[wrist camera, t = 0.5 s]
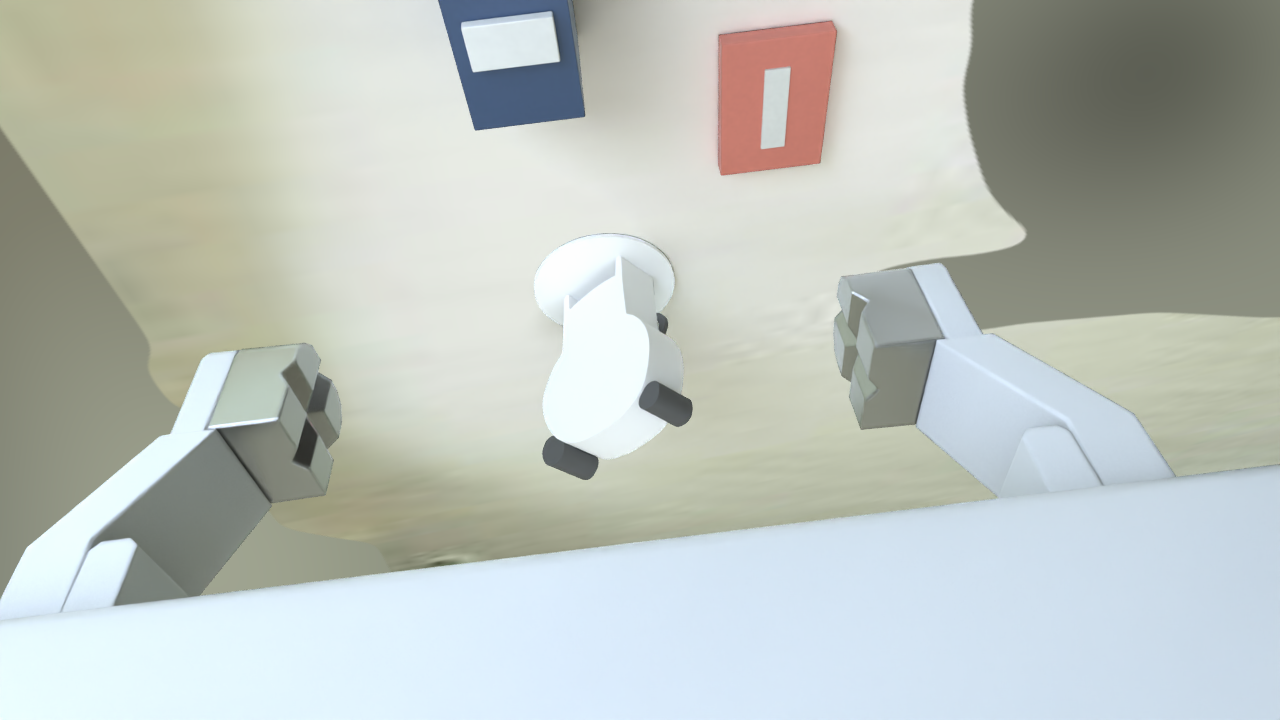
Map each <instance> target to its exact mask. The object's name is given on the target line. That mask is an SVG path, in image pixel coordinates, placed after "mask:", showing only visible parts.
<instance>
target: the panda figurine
mask: <svg viewBox="0 0 1280 720" xmlns="http://www.w3.org/2000/svg"><path fill="white" fill-rule="evenodd" d="M674 285H675V279H674V272H673V269H672V266H671V264H670V262H669V260H668V259H667V257H666V256H665V255H664V254H663V253H662V252H661V251H660V250H659V249H658V248H656V247H655V246H653V245H652V244H650V243H648V242H646V241H644V240H641V239H639V238H636V237H632V236H627V235H621V234H596V235H590V236H586V237H582V238H579V239H575V240H573V241H570V242H568V243H566V244H564V245H562V246H561V247H559V248H557V249H556V250H555V251H553V252H552V253H551V254H550V255H549V256H548V257H546V259H545V260H544V261H543V262H542V264H541V265H540V267H539V269H538V270H537V273H536V276H535V280H534V293H535V298H536V301H537V303H538V305H539V307H540V308H541V310H542V311H543V312H544V313H545V315H547V316H548V317H549V318H550V319H551V320H553V321H554V322H556V323H557V324H559V325H561V326H563V353H562V355H561V356H560V358H559V360H558V361H557V363H556V365H555V367H554V369H553V371H552V373H551V375H550V377H549V380H548V383H547V386H546V389H545V393H544V397H543V413H544V418H545V421H546V424H547V426H548V428H549V430H550V431H551V433H552V434H553V435H554V436H551V437H550V438H549V439H548V440H547V441H546V443H545V445H544V448H543V453H542V454H543V459H544V462H545V463H546V464H547V465H549V466H551V467H554V468H556V469H559V470H561V471H563V472H566V473H568V474H571V475H573V476H576V477H578V478H580V479H583V480H588V479H590V478H591V477H592V476H593V475H594V474H595V472H596V470H597V467H598V458H597V457H599V458H602V459H614V458H617V457H620V456H623V455H626V454H628V453H630V452H632V451H634V450H636V449H637V448H639V447H641V446H642V445H644V444H645V443H646V442H648V441H649V440H651V439H652V438H653V437H654V436H656V435H657V434H658V433H659V432H660V431H661V430H662V429H663V428H664V427H665V426H666V424H667V423H670V424H672V425H674V426H676V427H680V426H682V425H684V424H685V423H687V422H688V421H689V419H690V418H691V415H692V409H693V408H692V402H691V400H690V399H688V398H686V397H684V396H682V395H681V392H682V385H683V374H684V367H683V358H682V354H681V351H680V349H679V347H678V345H677V344H676V343H675V341H674V340H673V339H671V338H670V337H668V336H667V335H665V334H666V331H667V328H668V321H667V318H666V317H665V316H663V315H662V314H660V313H659V312H660V311H662V309H663V308H664V307H665V306H666V305H667V303H668V302H669V300H670V298H671V296H672V294H673V290H674ZM657 321H658V322H657ZM658 323H659V328H658Z"/></svg>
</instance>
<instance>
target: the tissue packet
mask: <svg viewBox="0 0 1280 720" xmlns="http://www.w3.org/2000/svg"><path fill="white" fill-rule="evenodd" d="M836 35H837V30H836V28H835V26H834V24H833V22H832V21H829V22H821V23H813V24H804V25H796V26H788V27H780V28H772V29H764V30H756V31H748V32H740V33H732V34H724V35H719V107H718V166H719V170H720V174H721V175H730V174H738V173H746V172H754V171H762V170H770V169H778V168H786V167H794V166H802V165H810V164H818V163H820V160H821V152H822V145H823V137H824V129H825V121H826V113H827V105H828V97H829V90H830V82H831V74H832V66H833V58H834V50H835V42H836Z"/></svg>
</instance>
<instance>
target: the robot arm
mask: <svg viewBox="0 0 1280 720" xmlns="http://www.w3.org/2000/svg"><path fill="white" fill-rule="evenodd" d="M837 298H838V300H839V303H840V306H841V308H842V311H841V312H840V313H839V314H838V315H837V316H836V317H835V319H834V332H833V336H834V350H835V355H836V359H837V364H838V367H839V370H840V373H841V376H843V377H844V378H846V379H847V380H848V381H850V382H851V387H850V394H849V398H850V401H851V404H852V406H853V409H854V412H855V415H856V417H857V420H858V423H859V426H860V428H861V430H863V429H873V428H883V427H894V426H904V425H914V424H916V428H918V429H919V430H920V431H921V432H922V433H923V434H925V435H926V436H927V437H928V438H929V439H931V440H932V441H933V442H934V443H935V444H936V445H938V446H939V447H940V448H941V449H942V450H943V451H945V452H946V453H947V454H948V455H949V456H950V457H952V458H953V459H954V460H955V461H956V462H957V463H959V464H960V465H961V466H962V467H963V468H965V469H966V470H967V471H968V472H969V473H970V474H972V475H973V476H974V477H975V478H976V479H977V480H979V481H980V482H981V483H982V484H983V485H984V486H986V487H987V488H988V489H989V490H990V491H991V492H993V493H994V494H995V495H996V496H997V497H998V498H997V499H990V500H982V501H974V502H966V503H957V504H949V505H941V506H933V507H925V508H916V509H908V510H900V511H892V512H883V513H875V514H867V515H859V516H850V517H842V518H834V519H826V520H817V521H809V522H801V523H793V524H785V525H776V526H768V527H760V528H752V529H744V530H735V531H727V532H719V533H711V534H702V535H694V536H686V537H678V538H670V539H661V540H653V541H645V542H637V543H629V544H620V545H612V546H604V547H596V548H588V549H579V550H571V551H563V552H555V553H547V554H538V555H530V556H522V557H514V558H505V559H497V560H489V561H481V562H473V563H464V564H456V565H448V566H440V567H432V568H423V569H415V570H407V571H399V572H391V573H382V574H374V575H366V576H358V577H350V578H342V579H333V580H326V581H318V582H309V583H300V584H292V585H284V586H276V587H268V588H259V589H252V590H243V591H235V592H227V593H219V594H211V595H202V596H200V594H201V593H202V592H203V591H204V590H205V588H206V587H207V586H208V585H209V583H210V582H211V581H212V580H213V578H214V577H215V576H216V575H217V574H218V572H219V571H220V570H221V569H222V567H223V566H224V565H225V564H226V562H227V561H228V560H229V559H230V557H231V556H232V555H233V554H234V552H235V551H236V550H237V549H238V548H239V546H240V545H241V544H242V543H243V541H244V540H245V539H246V537H247V536H248V535H249V534H250V533H251V532H252V530H253V529H254V528H255V527H256V525H257V524H258V523H259V521H260V520H261V519H262V518H263V517H264V515H265V514H266V513H267V512H268V511H269V509H270V508H271V507H272V505H271V503H277V502H283V501H290V500H297V499H304V498H310V497H317V496H324V495H326V492H327V488H328V483H329V479H330V475H331V470H332V466H333V462H334V460H333V458H332V457H331V455H330V453H329V451H328V450H327V449H328V448H329V447H330V446H331V445H332V444H333V443H334V442H335V441H336V440H337V439H338V438H339V435H340V429H341V424H342V414H341V403H340V399H339V396H338V392H337V390H336V388H335V386H334V384H333V382H332V380H331V379H329V378H327V377H325V376H324V375H322V374H320V373H319V372H318V370H319V366H320V362H321V359H320V358H319V356H318V354H317V353H316V351H315V349H314V348H313V346H312V345H310V344H307V343H299V344H289V345H279V346H269V347H259V348H249V349H242V350H236V351H226V352H215V353H209V354H208V355H206V356H205V357H204V358H203V359H202V360H201V362H200V364H199V367H198V369H197V372H196V374H195V376H194V379H193V381H192V384H191V386H190V388H189V391H188V393H187V396H186V398H185V400H184V403H183V405H182V408H181V410H180V412H179V415H178V417H177V419H176V422H175V424H174V427H173V429H172V431H171V434H170V435H163V436H160V437H158V438H157V439H156V440H155V441H154V442H152V443H151V444H150V445H149V446H148V447H147V448H145V449H144V450H143V451H142V452H141V453H139V454H138V455H137V456H136V457H135V458H133V459H132V460H131V461H130V462H129V463H127V464H126V465H125V466H124V467H123V468H122V469H120V470H119V471H118V472H117V473H116V474H114V475H113V476H112V477H111V478H110V479H108V481H106V482H105V483H104V484H102V485H101V486H100V487H99V488H98V489H96V490H95V491H94V492H93V493H92V494H90V495H89V496H88V497H87V498H86V499H85V500H83V501H82V502H81V503H80V504H79V505H77V506H76V507H75V508H74V509H73V510H71V511H70V512H69V513H68V514H67V515H65V516H64V517H63V518H62V519H61V520H60V521H58V522H57V523H56V524H55V525H54V526H52V527H51V528H50V529H49V530H48V531H46V532H45V533H44V534H43V535H42V536H40V537H39V538H38V539H37V540H36V541H34V542H33V543H32V544H31V545H30V546H28V547H27V548H26V550H25V552H24V554H23V556H22V558H21V560H20V562H19V564H18V566H17V568H16V570H15V572H14V574H13V576H12V578H11V580H10V581H9V583H8V585H7V587H6V589H5V591H4V593H3V595H2V597H1V599H0V720H1280V464H1277V465H1269V466H1261V467H1253V468H1244V469H1236V470H1228V471H1220V472H1212V473H1203V474H1195V475H1187V476H1179V477H1176V475H1175V474H1174V472H1173V471H1172V469H1171V468H1170V466H1169V465H1168V463H1167V462H1166V460H1165V459H1164V457H1163V456H1162V454H1161V453H1160V451H1159V450H1158V448H1157V447H1156V445H1155V444H1154V442H1153V441H1152V439H1151V438H1150V436H1149V435H1148V433H1147V432H1146V430H1145V429H1144V427H1143V426H1142V424H1141V423H1140V421H1139V420H1138V419H1137V417H1136V416H1135V414H1134V413H1132V412H1131V411H1129V410H1127V409H1125V408H1124V407H1122V406H1120V405H1118V404H1117V403H1115V402H1113V401H1111V400H1109V399H1108V398H1106V397H1104V396H1102V395H1101V394H1099V393H1097V392H1095V391H1094V390H1092V389H1090V388H1088V387H1087V386H1085V385H1083V384H1081V383H1080V382H1078V381H1076V380H1074V379H1072V378H1071V377H1069V376H1067V375H1065V374H1064V373H1062V372H1060V371H1058V370H1057V369H1055V368H1053V367H1051V366H1050V365H1048V364H1046V363H1044V362H1043V361H1041V360H1039V359H1037V358H1035V357H1034V356H1032V355H1030V354H1028V353H1027V352H1025V351H1023V350H1021V349H1020V348H1018V347H1016V346H1014V345H1013V344H1011V343H1009V342H1007V341H1006V340H1004V339H1002V338H1000V337H998V336H997V335H995V334H993V333H992V334H983V333H982V331H981V329H980V328H979V326H978V324H977V322H976V321H975V319H974V317H973V315H972V313H971V311H970V310H969V308H968V306H967V305H966V303H965V301H964V299H963V297H962V295H961V294H960V292H959V290H958V288H957V287H956V285H955V283H954V281H953V279H952V278H951V276H950V274H949V272H948V270H947V269H946V267H945V266H944V265H942V264H941V263H934V264H928V265H920V266H913V267H907V268H906V269H904V268H902V269H895V270H887V271H879V272H872V273H864V274H857V275H849V276H841V279H840V282H839V285H838V292H837Z"/></svg>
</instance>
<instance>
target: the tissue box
mask: <svg viewBox="0 0 1280 720" xmlns="http://www.w3.org/2000/svg"><path fill="white" fill-rule="evenodd" d="M438 1H439V5H440V8H441V12H442V16H443V19H444V23H445V26H446V30H447V33H448V37H449V40H450V44H451V47H452V51H453V55H454V58H455V62H456V65H457V69H458V72H459V76H460V79H461V83H462V86H463V90H464V93H465V97H466V101H467V104H468V108H469V111H470V115H471V118H472V122H473V125H474V129H475V130H483V129H491V128H499V127H507V126H515V125H524V124H532V123H540V122H548V121H556V120H564V119H572V118H580V117H585V108H584V97H583V87H582V77H581V67H580V57H579V46H578V36H577V29H576V22H575V16H574V9H573V2H572V0H438Z"/></svg>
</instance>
